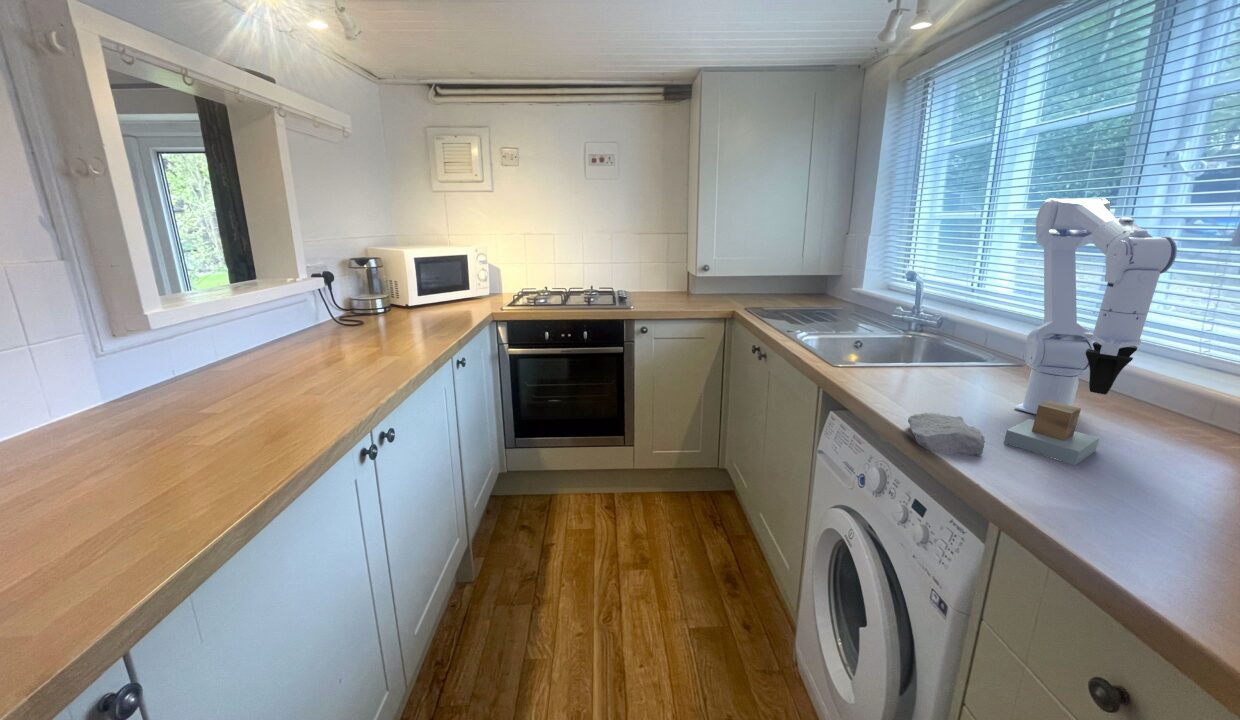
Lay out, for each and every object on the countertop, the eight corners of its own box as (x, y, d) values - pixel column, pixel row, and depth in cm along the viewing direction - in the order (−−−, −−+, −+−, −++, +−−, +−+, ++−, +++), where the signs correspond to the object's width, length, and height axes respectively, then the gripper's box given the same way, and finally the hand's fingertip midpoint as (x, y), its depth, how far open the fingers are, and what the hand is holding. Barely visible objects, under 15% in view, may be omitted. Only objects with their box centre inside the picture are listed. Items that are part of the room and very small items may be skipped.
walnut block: (1041, 426, 90) (1048, 400, 89) (1073, 435, 87) (1081, 408, 85) (1031, 431, 88) (1038, 404, 87) (1063, 440, 84) (1071, 413, 83)
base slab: (1025, 433, 95) (1029, 418, 94) (1094, 453, 87) (1099, 437, 86) (1003, 445, 89) (1006, 429, 89) (1074, 468, 81) (1079, 451, 81)
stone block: (924, 463, 86) (990, 457, 83) (923, 437, 85) (989, 430, 82) (900, 436, 97) (957, 431, 95) (898, 413, 96) (956, 407, 94)
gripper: (1096, 303, 91) (1076, 374, 94) (1085, 312, 81) (1063, 391, 85) (1151, 308, 86) (1128, 383, 89) (1146, 319, 76) (1121, 402, 80)
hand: (1100, 388), depth 87 cm, fingers open, 7 cm apart
